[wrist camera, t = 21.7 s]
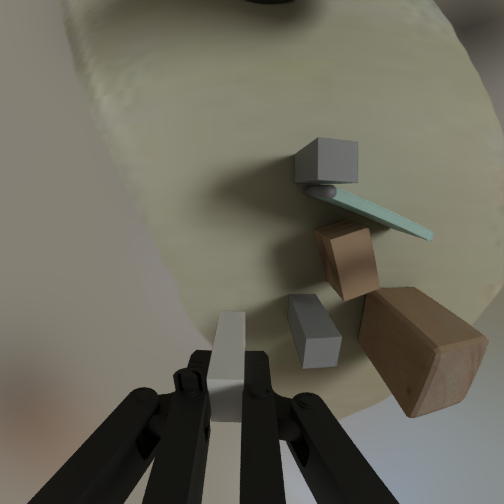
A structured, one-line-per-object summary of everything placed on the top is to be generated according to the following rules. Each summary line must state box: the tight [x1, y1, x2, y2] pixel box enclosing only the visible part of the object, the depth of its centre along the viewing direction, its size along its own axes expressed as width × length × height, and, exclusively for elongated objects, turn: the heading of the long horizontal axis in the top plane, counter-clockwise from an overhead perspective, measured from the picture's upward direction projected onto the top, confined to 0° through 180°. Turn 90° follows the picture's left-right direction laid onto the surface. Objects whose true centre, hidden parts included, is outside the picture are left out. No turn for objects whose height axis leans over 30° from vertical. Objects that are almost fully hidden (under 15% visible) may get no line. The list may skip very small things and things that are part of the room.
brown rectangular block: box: [314, 220, 380, 302], centre depth 36 cm, size 8×5×8 cm, turn 18°
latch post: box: [288, 294, 342, 369], centre depth 35 cm, size 4×4×13 cm
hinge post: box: [294, 137, 358, 184], centre depth 30 cm, size 4×4×13 cm
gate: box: [304, 185, 434, 241], centre depth 33 cm, size 15×1×10 cm, turn 72°
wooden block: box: [358, 287, 488, 418], centre depth 32 cm, size 10×10×20 cm
